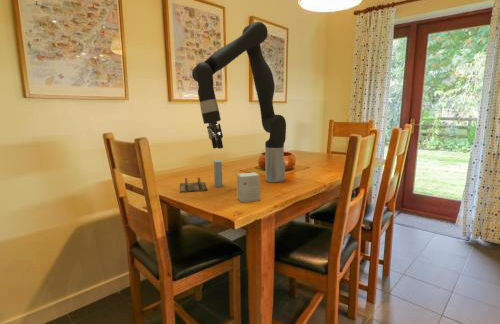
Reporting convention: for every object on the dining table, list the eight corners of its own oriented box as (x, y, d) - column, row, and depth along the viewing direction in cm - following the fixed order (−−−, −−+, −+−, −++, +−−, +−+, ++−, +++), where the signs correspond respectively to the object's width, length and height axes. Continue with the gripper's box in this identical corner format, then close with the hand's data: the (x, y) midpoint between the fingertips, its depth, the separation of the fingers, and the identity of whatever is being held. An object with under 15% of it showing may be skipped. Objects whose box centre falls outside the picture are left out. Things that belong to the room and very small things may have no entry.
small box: (255, 196, 121) (255, 172, 119) (260, 200, 115) (260, 174, 114) (237, 198, 118) (236, 173, 116) (241, 202, 113) (240, 176, 111)
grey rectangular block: (220, 183, 143) (219, 159, 141) (222, 186, 137) (221, 161, 135) (214, 184, 142) (213, 160, 140) (216, 187, 137) (215, 162, 134)
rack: (204, 183, 144) (204, 176, 144) (207, 190, 131) (207, 183, 130) (180, 185, 142) (179, 178, 141) (180, 192, 128) (179, 185, 127)
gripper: (222, 108, 119) (231, 146, 122) (214, 111, 133) (221, 146, 135) (205, 111, 117) (213, 150, 119) (198, 114, 130) (206, 149, 132)
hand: (218, 148), depth 127 cm, fingers open, 8 cm apart
